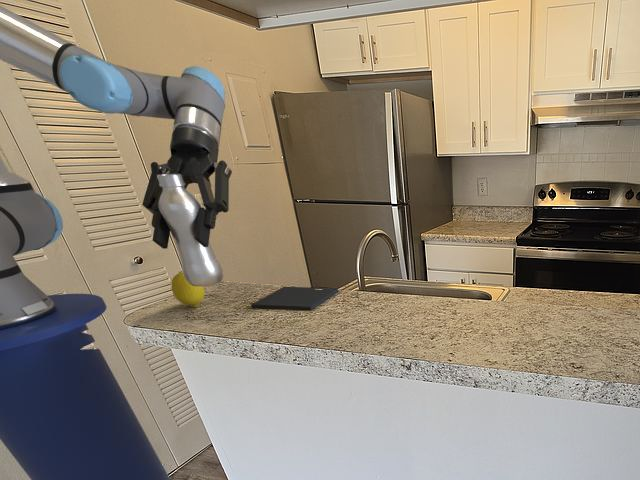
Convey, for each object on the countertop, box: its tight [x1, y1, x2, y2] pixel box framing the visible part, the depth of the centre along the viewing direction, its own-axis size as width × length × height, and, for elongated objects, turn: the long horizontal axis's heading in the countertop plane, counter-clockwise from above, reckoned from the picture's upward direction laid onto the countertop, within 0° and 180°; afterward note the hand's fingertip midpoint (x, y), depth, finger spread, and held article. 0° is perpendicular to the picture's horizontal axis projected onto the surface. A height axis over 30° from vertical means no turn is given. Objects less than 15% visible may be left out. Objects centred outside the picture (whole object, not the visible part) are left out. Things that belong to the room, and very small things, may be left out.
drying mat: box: [250, 286, 339, 311], centre depth 90 cm, size 14×12×1 cm
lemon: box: [170, 270, 206, 308], centre depth 86 cm, size 6×6×8 cm
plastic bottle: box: [157, 174, 224, 287], centre depth 75 cm, size 6×7×20 cm
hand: (180, 243), depth 73 cm, fingers closed on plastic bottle, 6 cm apart
